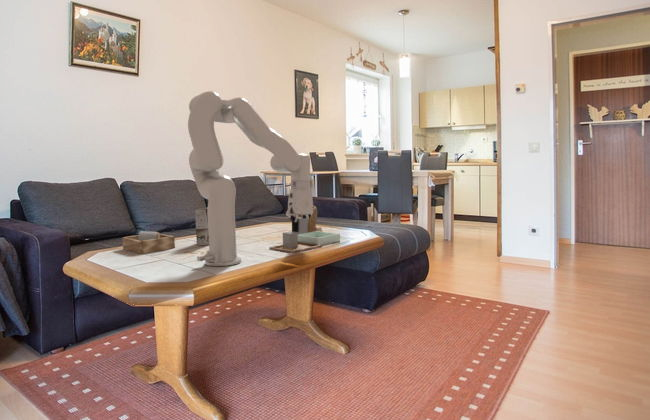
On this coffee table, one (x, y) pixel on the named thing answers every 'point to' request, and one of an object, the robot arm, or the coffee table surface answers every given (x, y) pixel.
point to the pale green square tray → (319, 237)
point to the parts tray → (301, 247)
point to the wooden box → (148, 244)
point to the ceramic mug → (148, 235)
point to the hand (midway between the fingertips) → (299, 230)
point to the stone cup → (312, 221)
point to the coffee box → (202, 226)
